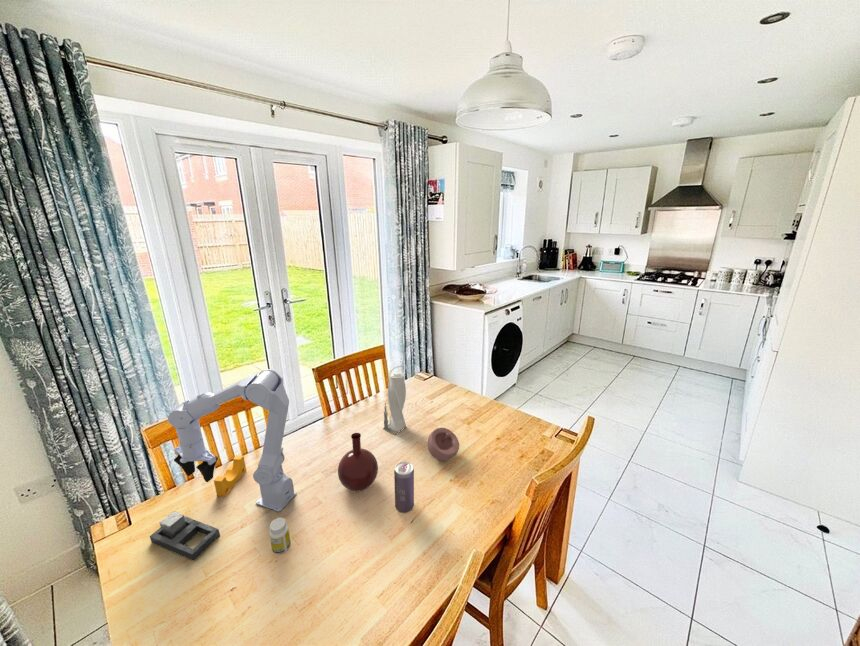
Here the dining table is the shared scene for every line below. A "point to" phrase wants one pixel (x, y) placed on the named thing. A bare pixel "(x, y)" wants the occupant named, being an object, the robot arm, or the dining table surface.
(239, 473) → the pipe clamp
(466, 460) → the dining table surface
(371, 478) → the round-bottom flask
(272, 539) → the supplement bottle
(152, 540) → the dark grey flat frame
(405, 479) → the beverage can
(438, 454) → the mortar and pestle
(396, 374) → the skyscraper
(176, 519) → the block
